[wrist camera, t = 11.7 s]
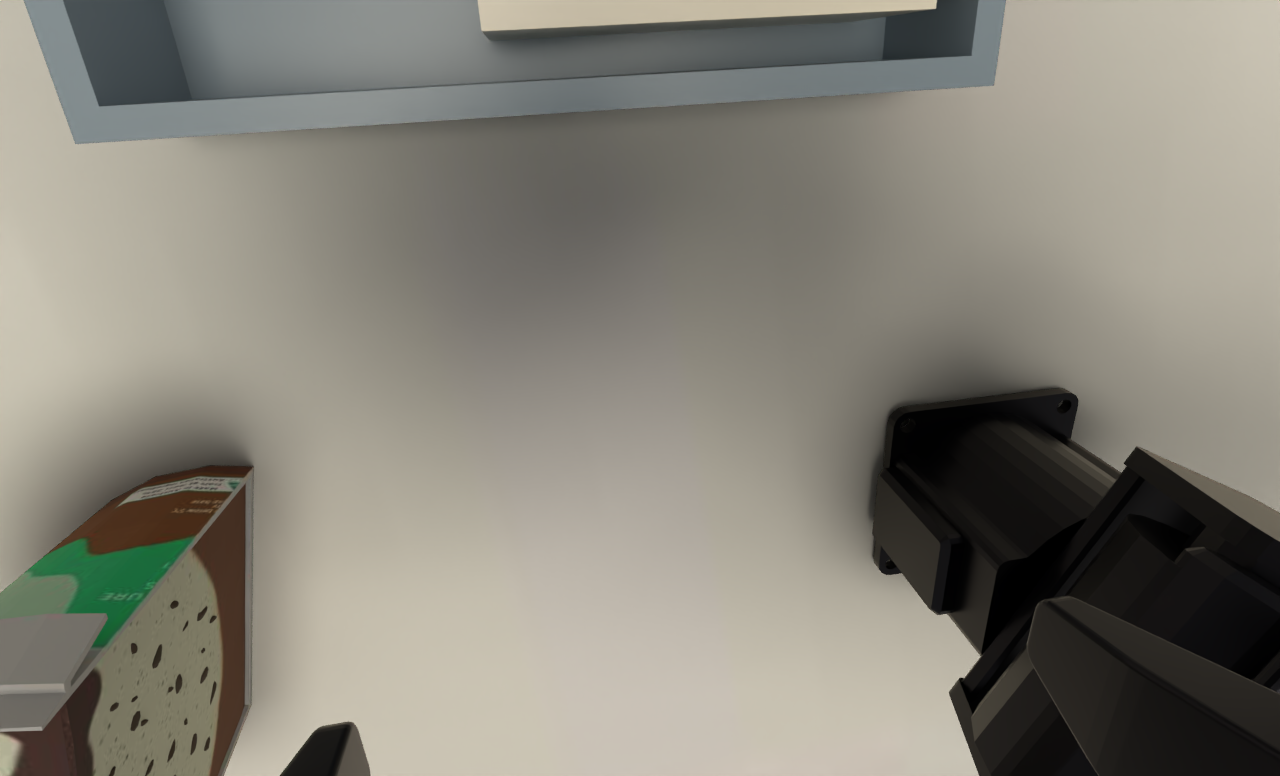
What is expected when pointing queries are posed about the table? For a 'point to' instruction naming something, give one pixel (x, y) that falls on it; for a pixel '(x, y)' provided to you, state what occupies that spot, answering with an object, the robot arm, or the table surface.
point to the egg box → (671, 15)
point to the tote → (457, 63)
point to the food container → (135, 636)
